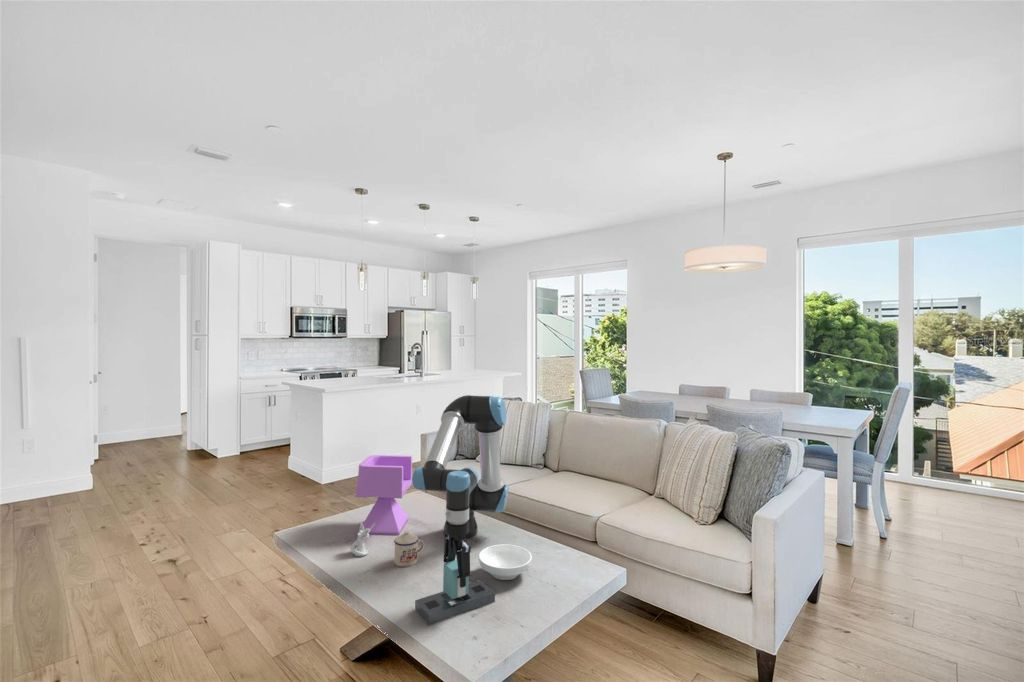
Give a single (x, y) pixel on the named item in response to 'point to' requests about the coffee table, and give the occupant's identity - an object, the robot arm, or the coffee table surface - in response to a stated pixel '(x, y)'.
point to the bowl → (505, 560)
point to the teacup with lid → (406, 549)
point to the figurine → (361, 541)
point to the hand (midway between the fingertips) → (455, 590)
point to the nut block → (452, 579)
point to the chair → (385, 491)
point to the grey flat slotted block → (440, 609)
